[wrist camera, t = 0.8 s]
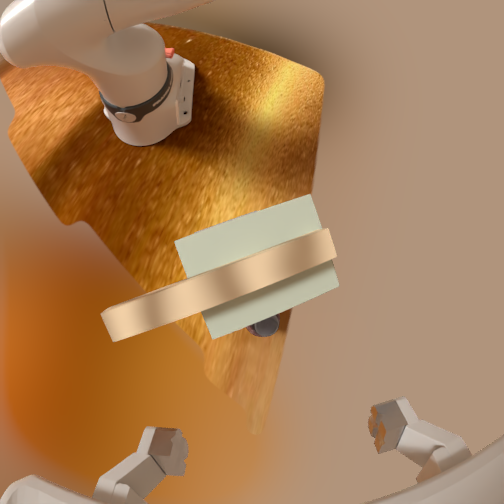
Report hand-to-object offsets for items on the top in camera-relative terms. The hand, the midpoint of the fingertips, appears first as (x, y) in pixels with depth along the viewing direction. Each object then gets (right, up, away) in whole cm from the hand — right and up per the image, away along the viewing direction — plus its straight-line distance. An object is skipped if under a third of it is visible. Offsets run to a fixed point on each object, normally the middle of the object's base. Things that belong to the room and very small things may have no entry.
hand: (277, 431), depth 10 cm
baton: (-4, +5, +16) cm, 17 cm away
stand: (-4, +7, +43) cm, 43 cm away
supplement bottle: (-1, -3, +44) cm, 44 cm away
